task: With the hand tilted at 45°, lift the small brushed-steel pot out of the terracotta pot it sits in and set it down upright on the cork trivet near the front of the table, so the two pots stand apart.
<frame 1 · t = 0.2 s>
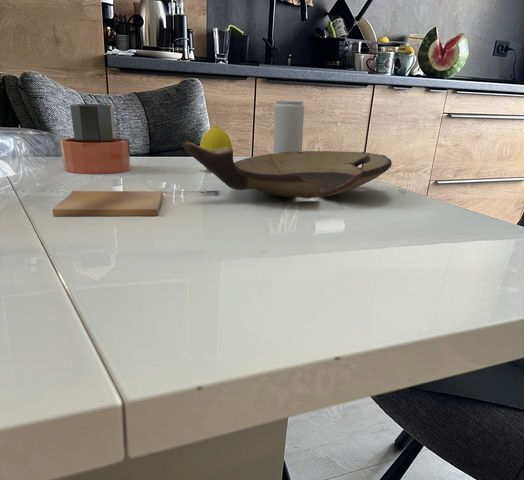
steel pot: (98, 169, 93), point 1 cm above the table, touching terracotta pot
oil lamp: (289, 195, 79), on the table
beverage can: (286, 178, 94), on the table
cork trivet: (112, 205, 70), on the table
terracotta pot: (98, 174, 93), on the table, touching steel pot
lemon: (216, 176, 95), on the table
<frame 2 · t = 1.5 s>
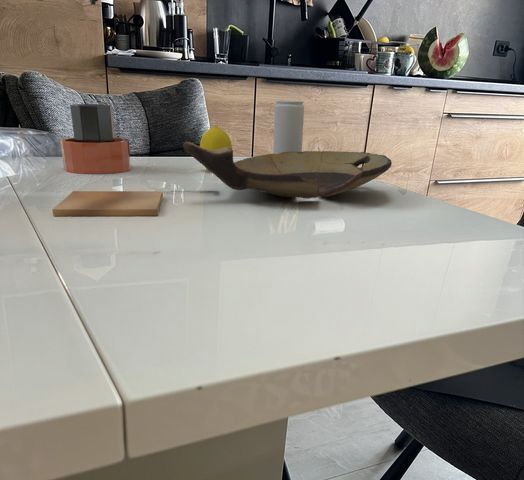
nothing on the table moved.
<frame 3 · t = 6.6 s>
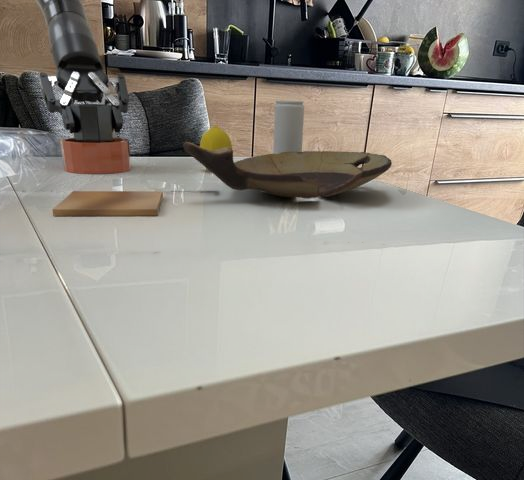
hand: (95, 129, 89), 7 cm above the table, tool tilted 45°, fingers closed on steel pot, 6 cm apart
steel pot: (98, 169, 93), point 1 cm above the table, touching gripper, terracotta pot
everything else where it was.
when the fingers open (7 cm above the table, at t = 18.0 s): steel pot stays where it is, resting on cork trivet.
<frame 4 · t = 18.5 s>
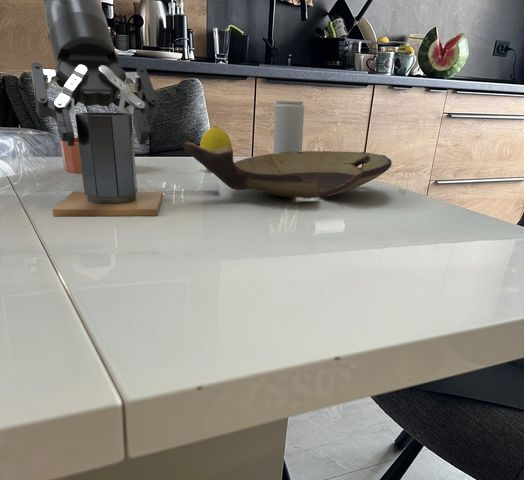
hand: (108, 140, 65), 8 cm above the table, tool tilted 45°, fingers open, 8 cm apart
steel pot: (112, 199, 69), point 1 cm above the table, touching cork trivet
terracotta pot: (98, 174, 93), on the table
everything else where it was.
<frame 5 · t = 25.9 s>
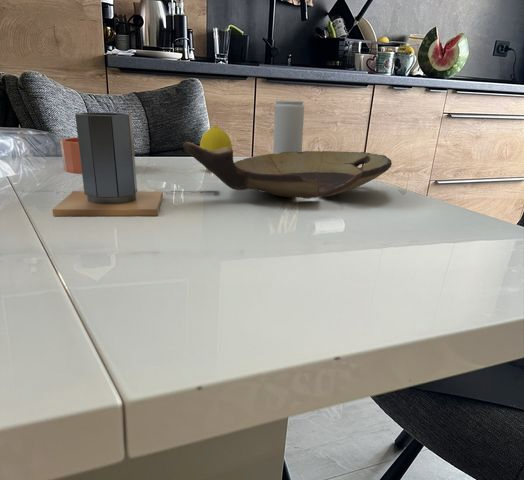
nothing on the table moved.
at the end: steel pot inside the target area on the cork trivet (0.0 cm from its centre), point 0.8 cm above the cork trivet's base; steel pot tilted 0°; terracotta pot moved 0.0 cm from its start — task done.
